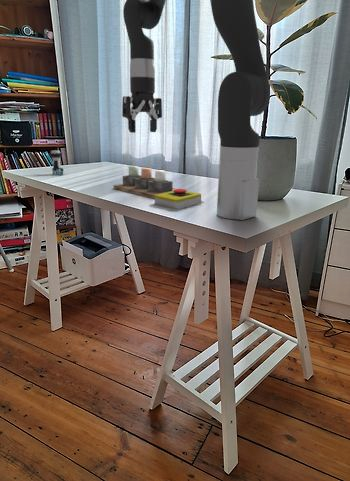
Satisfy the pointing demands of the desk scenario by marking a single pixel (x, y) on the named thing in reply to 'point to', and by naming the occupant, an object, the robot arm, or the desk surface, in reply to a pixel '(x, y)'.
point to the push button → (56, 162)
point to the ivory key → (160, 176)
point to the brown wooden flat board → (144, 186)
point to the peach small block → (146, 173)
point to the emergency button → (176, 200)
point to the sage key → (133, 171)
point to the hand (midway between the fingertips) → (143, 132)
